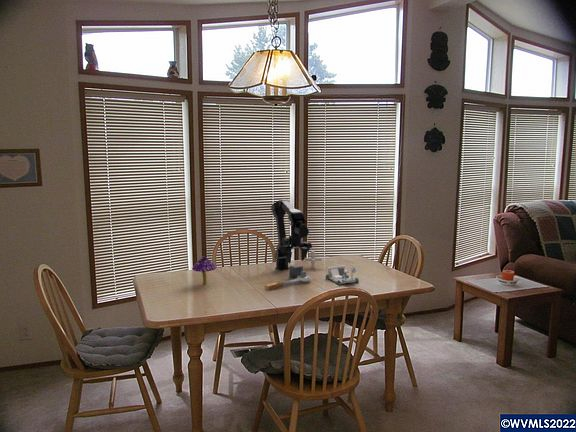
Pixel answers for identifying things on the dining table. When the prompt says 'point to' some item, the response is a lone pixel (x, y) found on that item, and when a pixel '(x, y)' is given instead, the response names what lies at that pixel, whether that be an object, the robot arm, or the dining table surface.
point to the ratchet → (289, 282)
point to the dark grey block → (295, 271)
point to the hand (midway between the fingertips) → (296, 262)
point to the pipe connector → (312, 259)
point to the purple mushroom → (204, 267)
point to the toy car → (341, 275)
